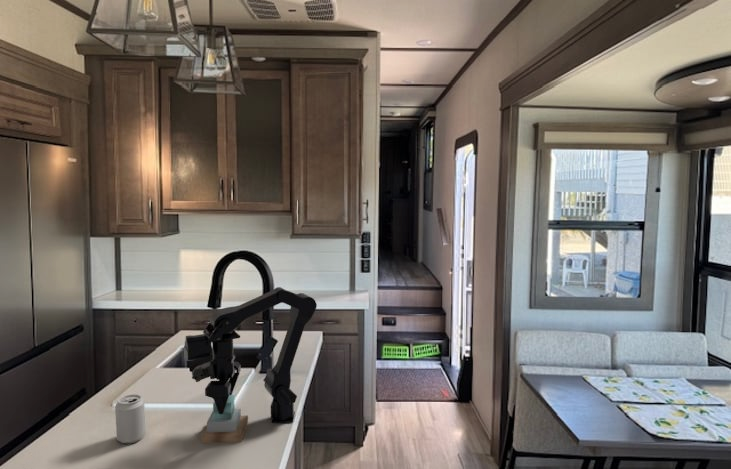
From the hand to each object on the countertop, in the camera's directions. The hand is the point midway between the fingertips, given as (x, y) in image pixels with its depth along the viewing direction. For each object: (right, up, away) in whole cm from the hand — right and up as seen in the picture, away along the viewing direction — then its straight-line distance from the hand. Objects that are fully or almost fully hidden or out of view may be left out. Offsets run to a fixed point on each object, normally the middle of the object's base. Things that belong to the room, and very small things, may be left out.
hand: (224, 406), depth 145 cm
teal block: (0, -3, 0) cm, 3 cm away
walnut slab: (0, -9, +1) cm, 9 cm away
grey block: (0, -6, +1) cm, 6 cm away
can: (-26, -9, -3) cm, 27 cm away
